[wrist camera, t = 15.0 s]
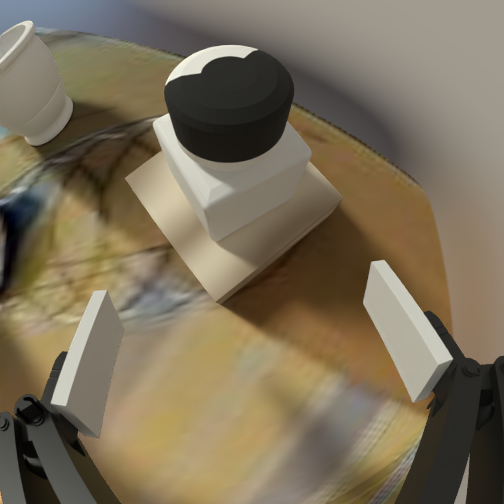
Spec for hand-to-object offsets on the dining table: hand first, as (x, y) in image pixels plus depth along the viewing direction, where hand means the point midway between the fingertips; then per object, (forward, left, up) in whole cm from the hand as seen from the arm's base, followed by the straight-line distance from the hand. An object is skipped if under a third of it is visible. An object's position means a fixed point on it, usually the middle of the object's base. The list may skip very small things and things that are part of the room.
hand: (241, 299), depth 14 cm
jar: (-35, -1, -12) cm, 37 cm away
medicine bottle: (-7, +6, -7) cm, 12 cm away
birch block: (-7, +6, -12) cm, 15 cm away
